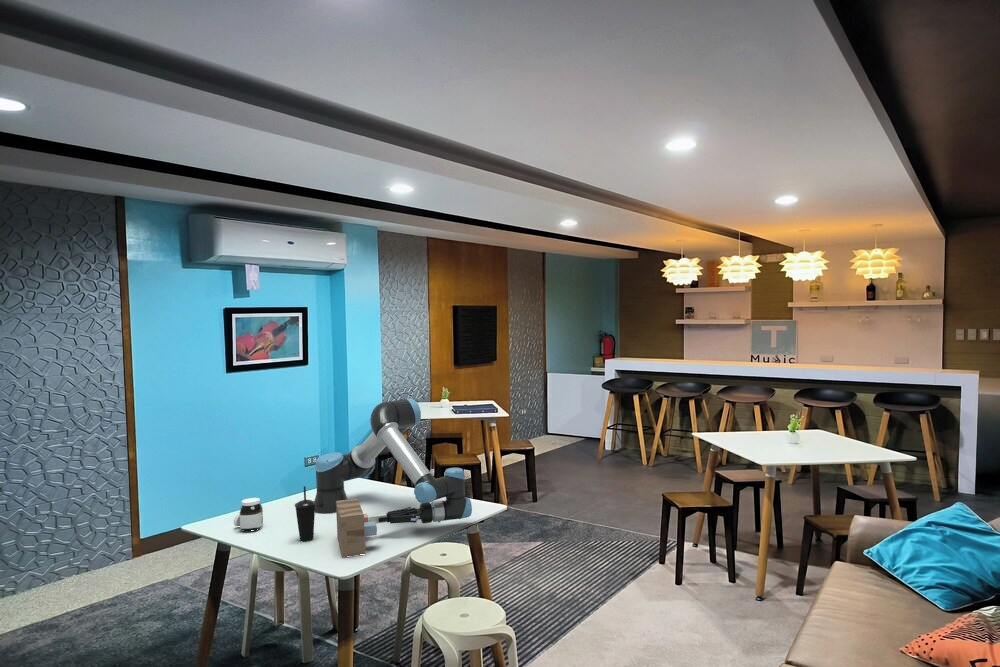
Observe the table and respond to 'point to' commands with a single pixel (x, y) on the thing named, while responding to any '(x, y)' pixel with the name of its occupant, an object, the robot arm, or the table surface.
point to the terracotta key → (366, 518)
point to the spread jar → (250, 515)
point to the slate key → (370, 528)
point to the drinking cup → (305, 518)
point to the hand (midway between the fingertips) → (369, 520)
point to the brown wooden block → (350, 527)
